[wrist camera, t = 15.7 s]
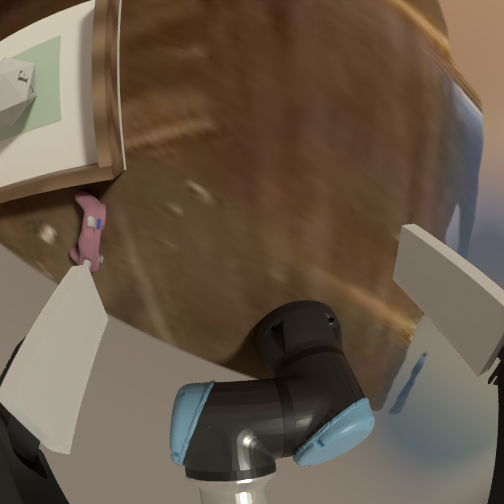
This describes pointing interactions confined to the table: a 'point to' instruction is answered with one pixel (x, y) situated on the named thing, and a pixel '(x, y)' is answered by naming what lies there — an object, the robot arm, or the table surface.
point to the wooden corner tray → (66, 103)
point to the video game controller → (89, 232)
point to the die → (15, 88)
